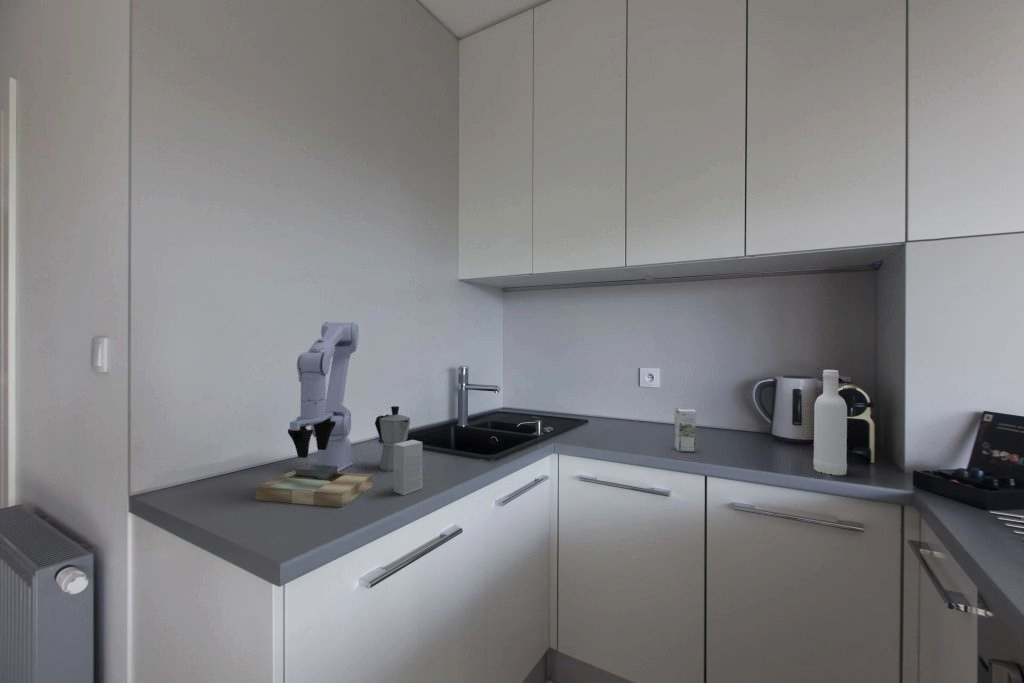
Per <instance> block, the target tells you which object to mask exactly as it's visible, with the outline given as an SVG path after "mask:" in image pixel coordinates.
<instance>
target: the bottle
mask: <svg viewBox="0 0 1024 683" xmlns="http://www.w3.org/2000/svg"><path fill="white" fill-rule="evenodd" d="M822 377H823V378H822V380H823V381H822V394H820V395H819V396H817V398H816V399H815V402H814V406H813V408H814V409H813V410H814V411H813V413H814V414H813V417H814V418H813V420H814V422H813V429H814V430H813V432H814V434H813V460H812V461H813V462H812V464H813V470H814V471H816V472H818V473H821V472H822V473H821V474H824V473H825V474H826V475H830V474H832V475H831V476H845V475H847V469H848V464H847V463H848V462H847V449H848V448H847V439H848V435H847V434H848V406H847V403H846V401H845V399H844V398H843V397H842V396H841V395H839V378H840V374H839V370H837V369H836V370H835V369H823V371H822ZM825 474H824V475H825Z"/></svg>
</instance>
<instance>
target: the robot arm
mask: <svg viewBox="0 0 1024 683" xmlns="http://www.w3.org/2000/svg"><path fill="white" fill-rule="evenodd" d="M320 334H321V338H317V340H316V341H314V343H313V344H312V345H311V347H310V348H309V349H308V350H307V352H302V354H299V355H298V357H297V362H296V370H297V373H298V382H299V383H300V415H299V416H297V417H296V419H295V420H292V421H290V422H289V428H288V429H287V434H288V435H289V437H290V438H291V440H292V442H293V444H294V447H295V451H296V454H297V458H298V459H299V458H300V459H302V458H303V459H307V458H308V456H309V450H310V441H311V438H312V436H313V438H315V441H316V448H317V465H326V466H338V472H341V471H343V470H344V469H347V468H348V467H350V466H353V465H354V462H352V444H351V440H350V438H349V437H348V436H349V435H350V433H351V430H352V413H351V410H350V409H348V407H346V406H345V405H344V398H345V392H346V384H347V377H348V372H349V370H348V369H349V363H350V359H351V355H352V354H353V353H355V352H356V351H357V348H358V342H359V334H360V333H359V326H358V324H357V323H356V322H355V321H354V322H328V321H324V322H323V324H321V330H320ZM331 360H332V361H331ZM330 365H331V366H330ZM329 370H330V374H329V379H328V380H329V381H328V384H327V383H326V381H327V380H326V376H327V374H328V373H329ZM326 385H327V388H326ZM326 389H327V390H326ZM326 391H327V392H326ZM307 427H310V429H308V428H307Z"/></svg>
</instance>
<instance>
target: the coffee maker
mask: <svg viewBox="0 0 1024 683" xmlns="http://www.w3.org/2000/svg"><path fill="white" fill-rule="evenodd" d="M390 408H391V414H385V415H378V416H377V417H376V419H375V421H374V426H375V428H376V432H377V433H378V436H379V439H380V442H383V447H382V454H381V458H380V464H379V470H380V471H384V472H394V444H396V443H400V442H405V441H408V435H409V429H410V424H411V417H409V416H406V415H402V414H399V409H400V406H397V405H396V406H394V405H393V406H391V407H390Z"/></svg>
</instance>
